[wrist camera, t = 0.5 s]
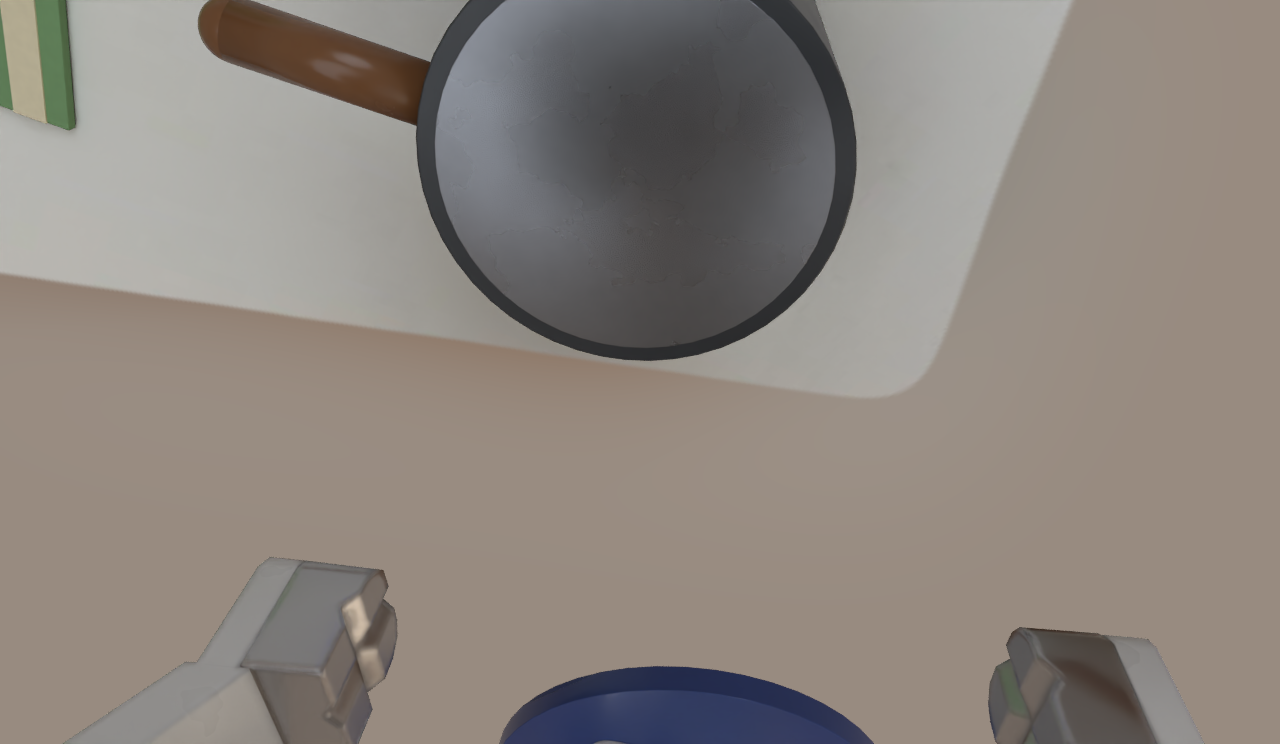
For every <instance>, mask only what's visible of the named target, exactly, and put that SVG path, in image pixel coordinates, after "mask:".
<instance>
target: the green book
mask: <svg viewBox="0 0 1280 744" xmlns="http://www.w3.org/2000/svg"><path fill="white" fill-rule="evenodd" d="M0 106H3V107H5V108H8V109H11V110H13V111H14V112H15V113H18V114H20V115H23V116H26V117H29V118H32V119H34V120H37V121H40V122H43V123H45V124H47V123H50V124H52V125H55V126H58V127H61V128H63V129H66V130H71V129H73V128H75V116H74V103H73V90H72V78H71V65H70V52H69V39H68V27H67V14H66V1H65V0H0Z"/></svg>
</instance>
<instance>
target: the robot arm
mask: <svg viewBox="0 0 1280 744" xmlns="http://www.w3.org/2000/svg"><path fill="white" fill-rule="evenodd" d="M387 589H388V583H387V580H386V577H385V574H384V571H383V570H379V569H370V568H362V567H353V566H346V565H337V564H328V563H321V562H312V561H304V560H294V559H284V558H274V557H270V558H268V559H267V560H266V561H264V562H263V563H262V564H261V565H259V567H257V569H256V571H255V572H254V574H253V575H252V577H251V578H250V580H249V581H248V583H247V585H246V586H245V588H244V589H243V591H242V592H241V594H240V596H239V597H238V599H237V600H236V602H235V603H234V605H233V606H232V608H231V610H230V611H229V613H228V614H227V616H226V617H225V619H224V620H223V622H222V624H221V625H220V627H219V628H218V630H217V631H216V633H215V635H214V636H213V638H212V639H211V641H210V642H209V644H208V645H207V647H206V649H205V650H204V652H203V653H202V655H201V656H200V658H199V660H198V661H197V663H196V662H184V663H183V664H181V665H180V666H179V667H177V668H175V669H174V670H172V671H171V672H169V673H168V674H166V675H165V676H163V677H162V678H160V679H159V680H157V681H156V682H154V683H153V684H151V685H150V686H148V687H147V688H146V689H144V690H142V691H141V692H139V693H138V694H136V695H135V696H133V697H132V698H130V699H129V700H127V701H126V702H124V703H123V704H121V705H120V706H119V707H117V708H115V709H114V710H112V711H111V712H109V713H108V714H106V715H105V716H103V717H102V718H100V719H99V720H97V721H96V722H94V723H93V724H91V725H90V726H88V727H87V728H85V729H84V730H82V731H81V732H79V733H78V734H76V735H75V736H73V737H72V738H70V739H69V740H67V741H66V742H64V743H63V744H358V743H359V741H360V738H361V736H362V733H363V731H364V729H365V726H366V724H367V721H368V719H369V717H370V714H371V712H372V706H371V703H370V699H369V696H368V693H367V692H368V691H370V690H371V689H372V688H373V687H375V686H376V685H377V684H379V683H380V682H381V681H382V680H383V679H385V677H386V675H387V672H388V669H389V667H390V665H391V662H392V659H393V655H394V650H395V645H396V640H397V619H396V614H395V610H394V608H393V607H392V606H391V605H390V604H389V603H387V602H386V601H385V600H384V599H383V598H384V595H385V593H386V591H387ZM1006 646H1007V649H1008V653H1009V656H1010V659H1009V660H1007V661H1005V662H1003V663H1001V664H1000V665H998V666H996V668H995V671H994V673H993V676H992V679H991V681H990V687H989V700H988V705H989V714H990V722H991V726H992V730H993V734H994V738H995V741H996V743H997V744H1204V742H1203V740H1202V737H1201V735H1200V734H1199V732H1198V730H1197V727H1196V725H1195V723H1194V721H1193V720H1192V717H1191V715H1190V713H1189V712H1188V710H1187V708H1186V706H1185V703H1184V702H1183V699H1182V697H1181V695H1180V693H1179V692H1178V690H1177V687H1176V686H1175V683H1174V681H1173V679H1172V678H1171V675H1170V674H1169V672H1168V670H1167V667H1166V666H1165V664H1164V662H1163V660H1162V658H1161V656H1160V654H1159V652H1158V650H1157V648H1156V646H1154V645H1153V644H1152V643H1151V642H1150V641H1149V640H1148V639H1142V638H1132V637H1121V636H1109V635H1100V634H1098V633H1085V632H1073V631H1060V630H1047V629H1035V628H1022V627H1019V628H1018V629H1016V630H1015V631H1013V632H1012V633H1011V636H1010V638H1009V640H1008V642H1007V644H1006ZM594 744H626V743H621V742H616V741H609V740H603V741H598V742H596V743H594Z"/></svg>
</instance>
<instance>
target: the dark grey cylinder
mask: <svg viewBox="0 0 1280 744" xmlns="http://www.w3.org/2000/svg"><path fill="white" fill-rule="evenodd" d="M198 30H199V34H200V36H201V39H202V41H203V43H204V44H205V46H206V47H207V48H208V49H209V50H210V51H211V52H212V53H213V54H214V55H215V56H217V57H218V58H220V59H222V60H224V61H226V62H228V63H231V64H234V65H237V66H240V67H243V68H246V69H249V70H252V71H255V72H258V73H261V74H264V75H267V76H270V77H273V78H276V79H279V80H282V81H285V82H288V83H291V84H294V85H297V86H300V87H303V88H306V89H309V90H312V91H314V92H317V93H320V94H323V95H326V96H329V97H332V98H335V99H338V100H341V101H344V102H347V103H350V104H353V105H356V106H359V107H362V108H365V109H368V110H371V111H374V112H377V113H380V114H383V115H386V116H389V117H392V118H395V119H398V120H401V121H404V122H407V123H410V124H413V125H416V126H417V130H416V143H417V159H418V167H419V173H420V178H421V183H422V188H423V192H424V195H425V198H426V201H427V204H428V207H429V210H430V214H431V216H432V219H433V221H434V223H435V225H436V227H437V229H438V231H439V234H440V236H441V238H442V240H443V242H444V243H445V245H446V246H447V248H448V250H449V251H450V253H451V254H452V256H453V258H454V259H455V261H456V262H457V264H458V265H459V266H460V267H461V269H462V270H463V271H464V273H465V274H466V275H467V276H468V278H469V279H470V280H471V281H472V283H473V284H474V285H475V286H476V287H477V288H478V289H479V290H480V291H481V292H482V293H483V294H484V295H485V296H486V297H487V298H488V299H489V300H490V301H491V302H493V303H494V304H495V305H496V306H498V307H499V308H500V309H501V310H503V311H504V312H505V313H506V314H508V315H509V316H510V317H512V318H513V319H515V320H516V321H518V322H519V323H521V324H523V325H524V326H526V327H527V328H529V329H530V330H532V331H534V332H536V333H538V334H540V335H542V336H544V337H546V338H548V339H550V340H552V341H554V342H557V343H559V344H562V345H565V346H567V347H570V348H573V349H575V350H579V351H582V352H586V353H590V354H594V355H598V356H603V357H609V358H616V359H623V360H643V361H653V360H668V359H677V358H683V357H688V356H694V355H699V354H702V353H705V352H709V351H712V350H715V349H719V348H722V347H724V346H727V345H729V344H731V343H734V342H736V341H738V340H740V339H743V338H745V337H747V336H748V335H750V334H752V333H754V332H755V331H757V330H759V329H760V328H762V327H764V326H766V325H767V324H768V323H770V322H771V321H772V320H774V319H775V318H776V317H778V316H779V315H780V314H782V313H783V312H784V311H786V310H787V309H788V308H789V307H790V306H791V305H792V304H793V303H794V302H795V301H796V300H797V299H798V298H799V297H800V296H801V295H802V294H803V293H804V292H805V291H806V290H807V288H808V287H809V286H810V285H811V283H812V282H813V281H814V280H815V278H816V277H817V276H818V275H819V273H820V272H821V271H822V269H823V267H824V266H825V264H826V262H827V261H828V259H829V257H830V256H831V254H832V252H833V251H834V249H835V247H836V244H837V242H838V240H839V238H840V235H841V233H842V231H843V228H844V226H845V223H846V220H847V216H848V213H849V209H850V205H851V202H852V198H853V191H854V184H855V177H856V135H855V128H854V122H853V115H852V110H851V106H850V103H849V99H848V96H847V93H846V89H845V86H844V82H843V79H842V77H841V74H840V71H839V68H838V65H837V62H836V59H835V57H834V54H833V51H832V48H831V45H830V42H829V39H828V37H827V34H826V31H825V28H824V25H823V22H822V19H821V17H820V14H819V11H818V8H817V5H816V2H815V0H469V1H468V2H467V3H466V5H465V6H464V7H463V8H462V10H461V11H460V12H459V14H458V15H457V16H456V18H455V19H454V20H453V22H452V23H451V24H450V26H449V27H448V29H447V30H446V32H445V34H444V36H443V38H442V40H441V42H440V43H439V45H438V47H437V49H436V51H435V53H434V55H433V57H432V60H431V62H428V61H426V60H423V59H420V58H417V57H414V56H411V55H408V54H405V53H402V52H399V51H397V50H394V49H391V48H388V47H385V46H382V45H379V44H376V43H373V42H370V41H368V40H365V39H362V38H359V37H356V36H353V35H350V34H347V33H344V32H341V31H339V30H336V29H333V28H330V27H327V26H324V25H321V24H318V23H315V22H312V21H309V20H307V19H304V18H301V17H298V16H295V15H292V14H289V13H286V12H283V11H280V10H278V9H275V8H272V7H269V6H266V5H263V4H260V3H257V2H254V1H251V0H209V1H208V2H207V3H206V4H205V5H204V6H203V7H202V9H201V11H200V13H199V17H198Z"/></svg>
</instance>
